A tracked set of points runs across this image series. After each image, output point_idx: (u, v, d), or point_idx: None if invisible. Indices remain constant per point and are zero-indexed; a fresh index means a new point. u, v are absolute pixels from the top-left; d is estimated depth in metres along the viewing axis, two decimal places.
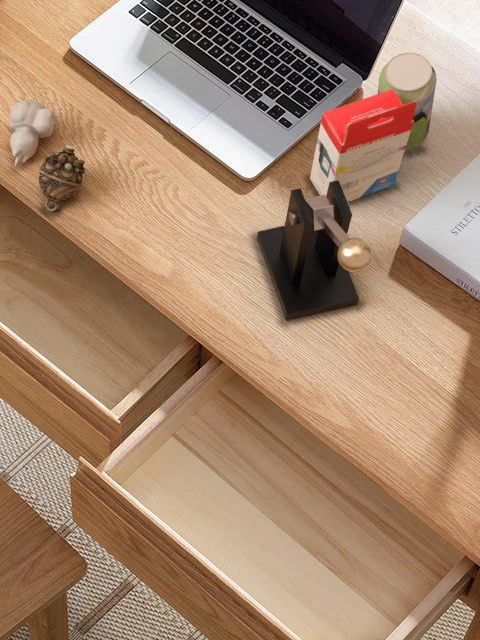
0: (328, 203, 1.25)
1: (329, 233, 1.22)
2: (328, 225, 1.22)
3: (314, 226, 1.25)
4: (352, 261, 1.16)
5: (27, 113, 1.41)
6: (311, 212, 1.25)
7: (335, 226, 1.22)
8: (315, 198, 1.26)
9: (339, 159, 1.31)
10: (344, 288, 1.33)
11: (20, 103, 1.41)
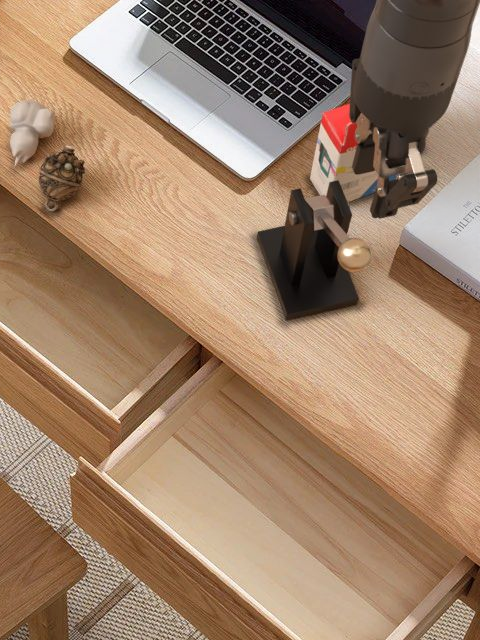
0: (328, 203, 1.25)
1: (329, 233, 1.22)
2: (328, 225, 1.22)
3: (314, 226, 1.25)
4: (352, 261, 1.16)
5: (27, 113, 1.41)
6: (311, 212, 1.25)
7: (335, 226, 1.22)
8: (315, 198, 1.26)
9: (339, 159, 1.31)
10: (344, 288, 1.33)
11: (20, 103, 1.41)
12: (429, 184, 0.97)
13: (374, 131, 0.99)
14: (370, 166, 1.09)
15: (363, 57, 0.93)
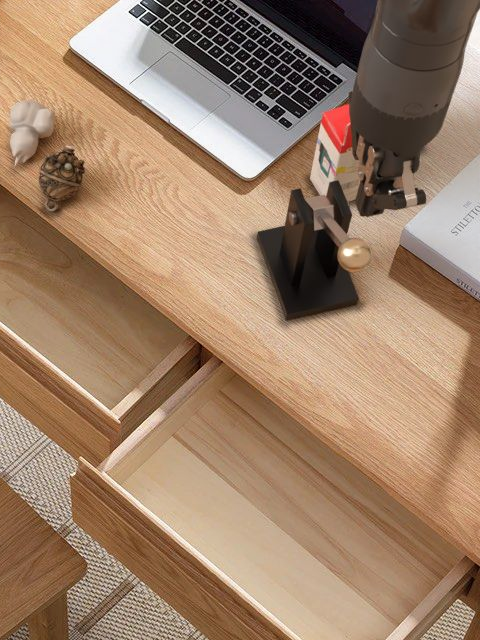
0: (328, 203, 1.25)
1: (329, 233, 1.22)
2: (328, 225, 1.22)
3: (314, 226, 1.25)
4: (352, 261, 1.16)
5: (27, 113, 1.41)
6: (311, 212, 1.25)
7: (335, 226, 1.22)
8: (315, 198, 1.26)
9: (339, 159, 1.31)
10: (344, 288, 1.33)
11: (20, 103, 1.41)
12: None
13: (369, 149, 1.01)
14: None
15: (359, 78, 0.95)
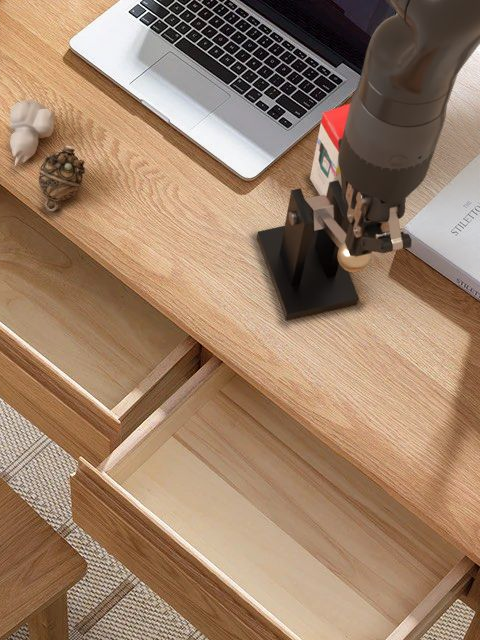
0: (328, 204, 1.25)
1: (329, 233, 1.22)
2: (328, 225, 1.22)
3: (314, 226, 1.25)
4: (352, 262, 1.16)
5: (27, 113, 1.41)
6: (311, 212, 1.25)
7: (335, 226, 1.22)
8: (315, 198, 1.26)
9: None
10: (344, 288, 1.33)
11: (20, 103, 1.41)
12: (403, 248, 1.06)
13: (358, 195, 1.07)
14: None
15: (347, 131, 1.00)
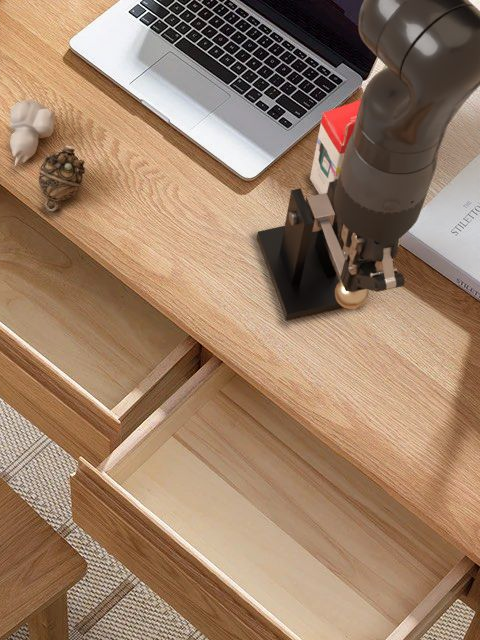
0: (329, 210, 1.24)
1: (328, 250, 1.24)
2: (327, 241, 1.24)
3: (313, 229, 1.26)
4: (349, 305, 1.20)
5: (27, 113, 1.41)
6: (312, 217, 1.25)
7: (335, 245, 1.23)
8: (317, 198, 1.25)
9: (339, 159, 1.31)
10: None
11: (20, 103, 1.41)
12: None
13: (353, 235, 1.10)
14: None
15: (342, 175, 1.04)
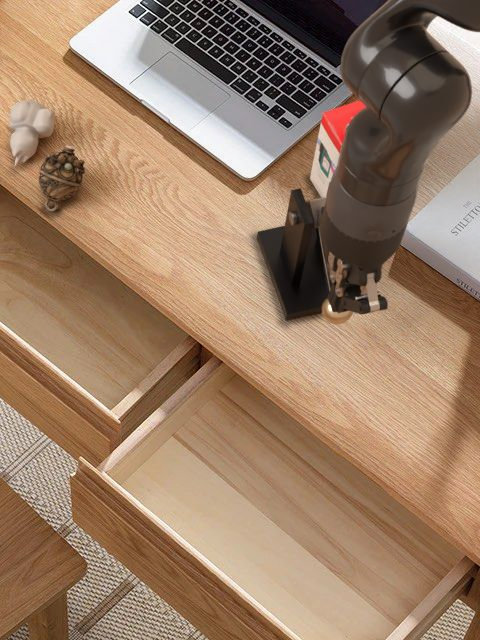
0: None
1: (322, 258, 1.27)
2: (323, 251, 1.26)
3: None
4: (333, 323, 1.27)
5: (27, 113, 1.41)
6: None
7: None
8: (320, 203, 1.25)
9: None
10: None
11: (20, 103, 1.41)
12: (380, 310, 1.15)
13: (338, 261, 1.16)
14: None
15: (327, 206, 1.10)
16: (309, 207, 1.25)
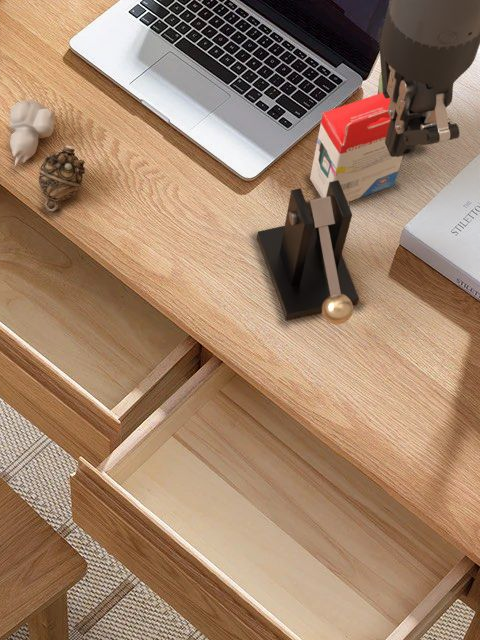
0: (330, 219, 1.25)
1: (322, 258, 1.27)
2: (323, 251, 1.26)
3: None
4: (333, 323, 1.27)
5: (27, 113, 1.41)
6: None
7: (329, 257, 1.26)
8: (320, 203, 1.25)
9: (339, 159, 1.31)
10: (344, 288, 1.33)
11: (20, 103, 1.41)
12: (451, 139, 1.00)
13: (401, 84, 1.00)
14: None
15: (391, 8, 0.94)
16: (309, 207, 1.25)
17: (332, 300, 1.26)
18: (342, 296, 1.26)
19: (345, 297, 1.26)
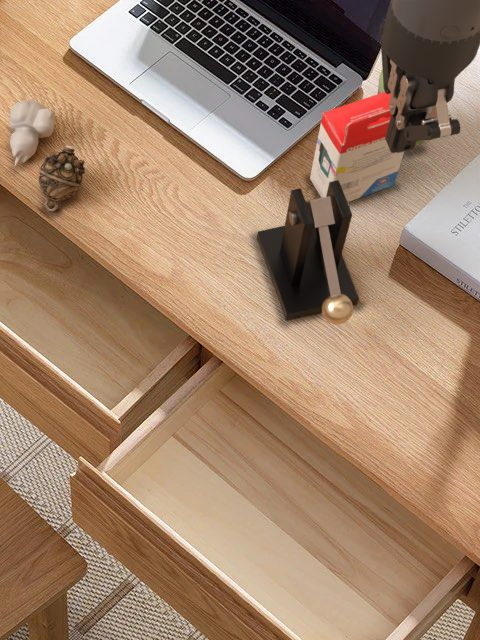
0: (330, 219, 1.25)
1: (322, 258, 1.27)
2: (323, 251, 1.26)
3: None
4: (333, 323, 1.27)
5: (27, 113, 1.41)
6: None
7: (329, 257, 1.26)
8: (320, 203, 1.25)
9: (339, 159, 1.31)
10: (344, 288, 1.33)
11: (20, 103, 1.41)
12: None
13: (402, 79, 1.00)
14: None
15: (393, 3, 0.94)
16: (309, 207, 1.25)
17: (332, 300, 1.26)
18: (342, 296, 1.26)
19: (345, 297, 1.26)
